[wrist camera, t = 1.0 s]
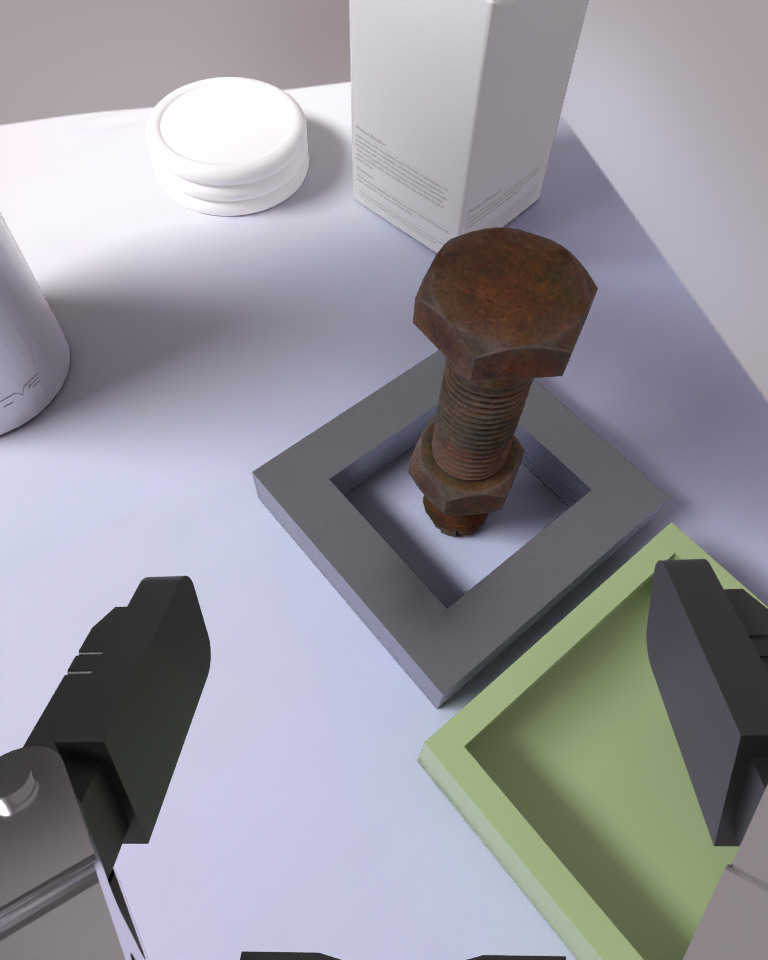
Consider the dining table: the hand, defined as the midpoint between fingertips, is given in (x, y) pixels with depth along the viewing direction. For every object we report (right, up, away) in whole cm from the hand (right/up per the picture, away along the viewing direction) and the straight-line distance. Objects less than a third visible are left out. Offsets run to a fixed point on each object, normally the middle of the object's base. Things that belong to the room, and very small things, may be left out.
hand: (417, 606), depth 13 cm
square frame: (+3, +1, +22) cm, 23 cm away
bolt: (+3, +1, +23) cm, 23 cm away
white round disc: (-11, +23, +35) cm, 43 cm away
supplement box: (+3, +20, +34) cm, 40 cm away
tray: (+10, -10, +17) cm, 22 cm away
